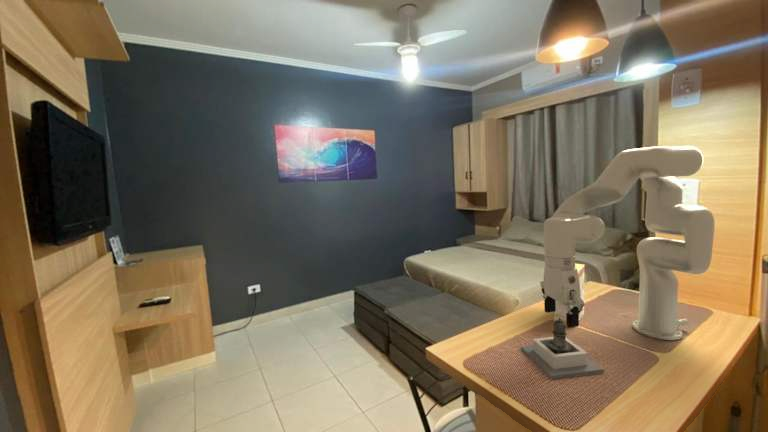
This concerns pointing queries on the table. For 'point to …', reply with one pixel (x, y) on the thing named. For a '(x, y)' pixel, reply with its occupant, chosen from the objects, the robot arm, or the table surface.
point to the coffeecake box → (561, 307)
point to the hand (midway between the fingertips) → (560, 318)
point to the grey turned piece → (559, 339)
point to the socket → (560, 360)
